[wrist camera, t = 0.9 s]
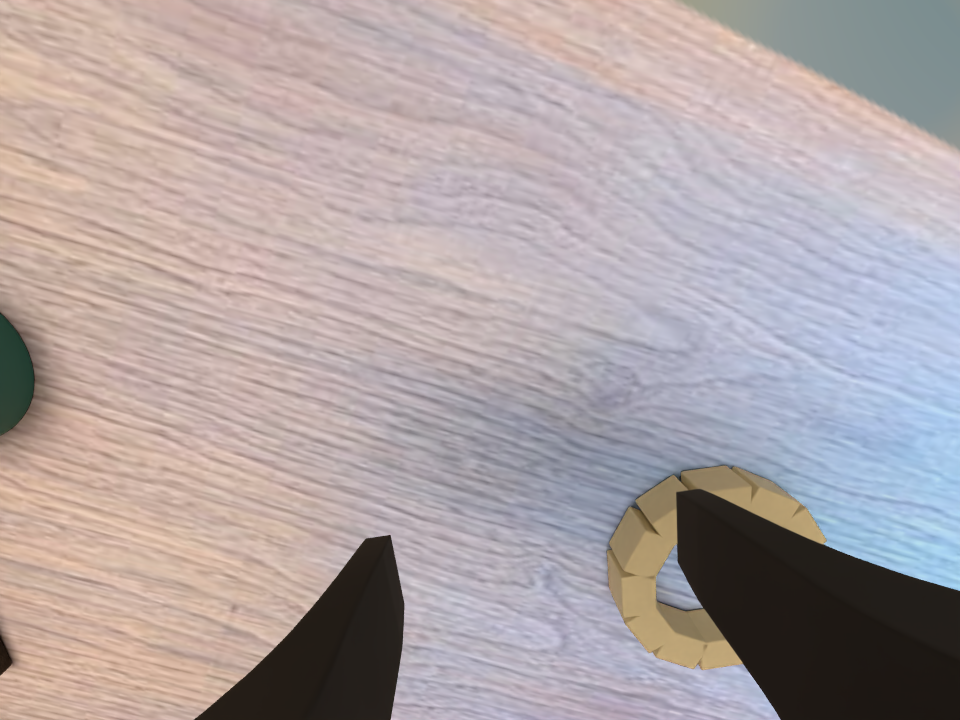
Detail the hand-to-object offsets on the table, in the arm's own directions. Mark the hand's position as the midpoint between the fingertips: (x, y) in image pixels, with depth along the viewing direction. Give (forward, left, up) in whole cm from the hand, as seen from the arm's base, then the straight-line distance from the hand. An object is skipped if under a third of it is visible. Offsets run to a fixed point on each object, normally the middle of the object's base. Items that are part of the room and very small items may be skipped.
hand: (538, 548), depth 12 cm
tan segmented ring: (-9, -9, -9) cm, 16 cm away
